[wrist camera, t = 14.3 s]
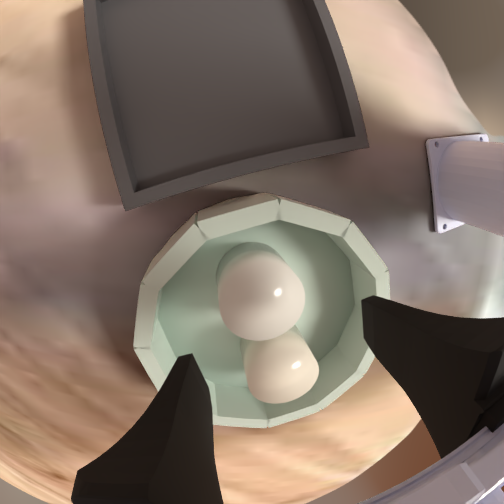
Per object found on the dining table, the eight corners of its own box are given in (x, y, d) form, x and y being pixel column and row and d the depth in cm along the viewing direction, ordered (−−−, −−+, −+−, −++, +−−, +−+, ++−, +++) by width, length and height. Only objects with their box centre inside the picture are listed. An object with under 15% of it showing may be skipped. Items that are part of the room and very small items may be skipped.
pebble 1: (277, 233, 18) (297, 252, 14) (291, 296, 20) (310, 326, 16) (207, 253, 18) (208, 277, 14) (226, 315, 19) (232, 350, 15)
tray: (290, -34, 13) (300, -51, 11) (350, 148, 18) (369, 147, 16) (93, 6, 12) (82, -9, 10) (135, 205, 17) (125, 211, 15)
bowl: (342, 170, 19) (377, 174, 14) (363, 351, 24) (388, 381, 19) (114, 235, 18) (91, 256, 13) (193, 405, 22) (194, 444, 18)
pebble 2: (295, 309, 20) (314, 340, 16) (304, 356, 21) (322, 390, 18) (232, 327, 20) (239, 363, 16) (248, 374, 21) (257, 410, 17)
